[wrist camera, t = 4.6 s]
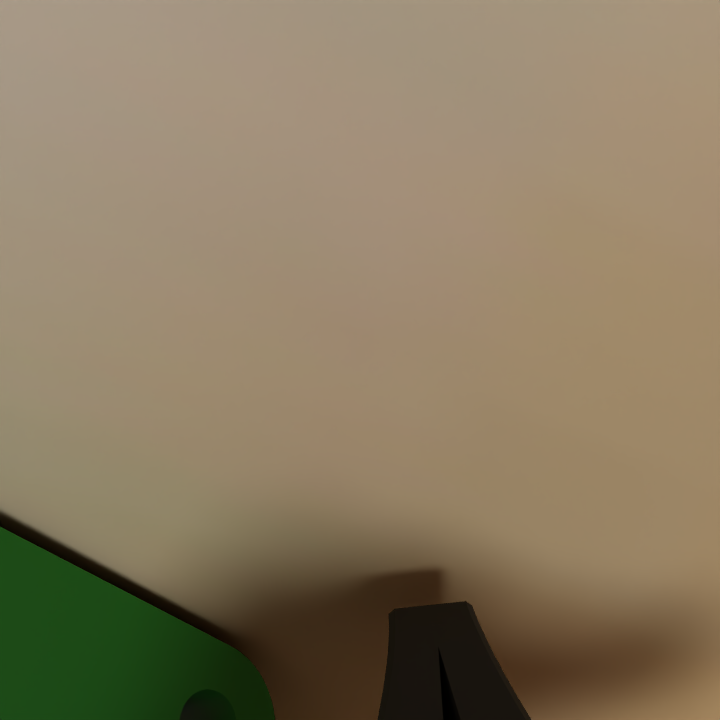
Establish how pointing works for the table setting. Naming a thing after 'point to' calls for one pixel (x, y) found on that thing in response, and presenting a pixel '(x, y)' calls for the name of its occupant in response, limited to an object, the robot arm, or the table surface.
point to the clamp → (108, 651)
